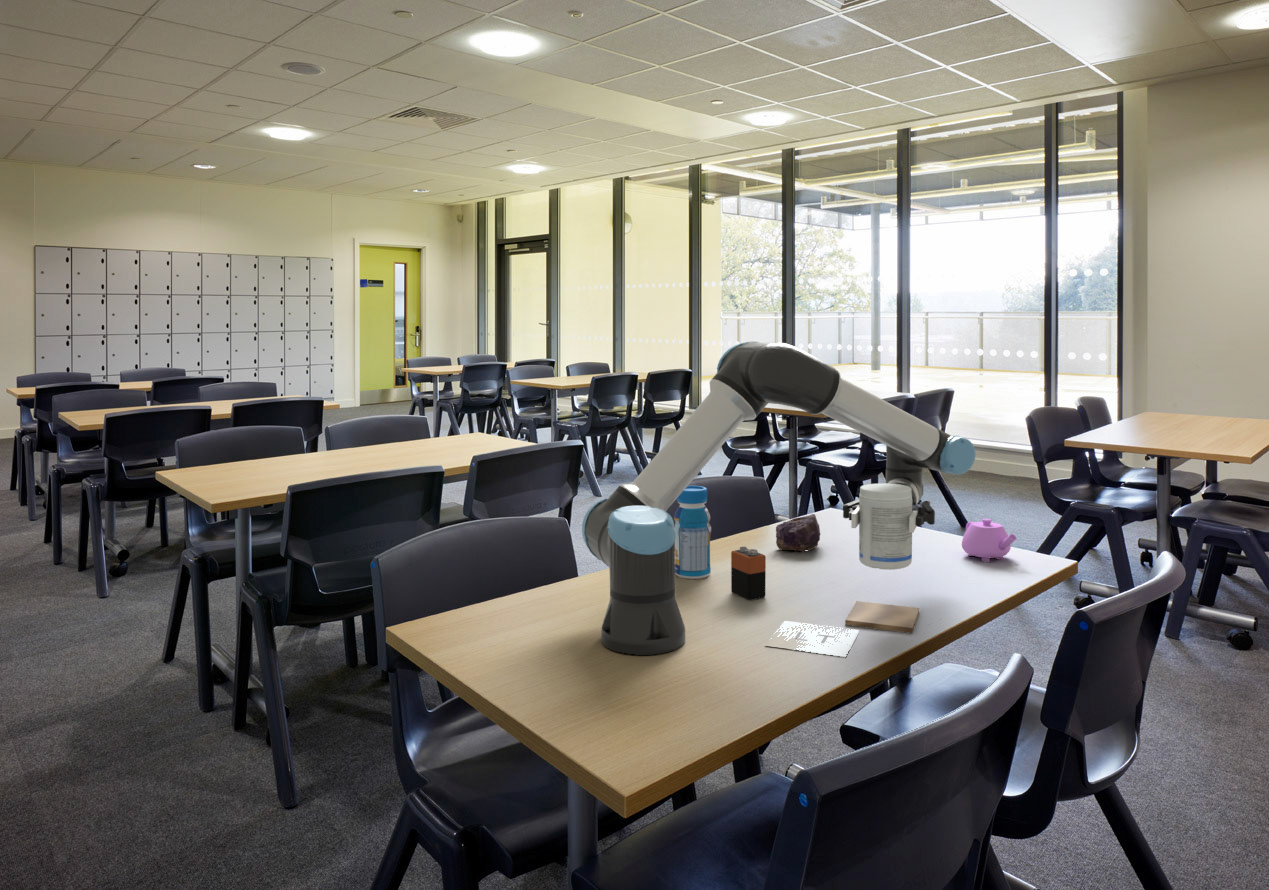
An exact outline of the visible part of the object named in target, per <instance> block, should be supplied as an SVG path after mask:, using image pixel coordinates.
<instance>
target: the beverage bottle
mask: <svg viewBox="0 0 1269 890" xmlns="http://www.w3.org/2000/svg"><path fill="white" fill-rule="evenodd" d="M707 489H708V488H707V487H704V486H703V485H702V486H700V485H688V486H687V487H686V488H685V489H684V491H683V492H682V493H681V494H680V495H679V496H678V498H677V499H676V500H677V503H678V504H679V506H678V507H677V509H676V510H675V512H674V516H673V521H675V522H674V530H675V534H676V537H675V576H677V577H679V578H682V579H686V580H699V579H700V580H701V579H705V578H708V577H709V576H710V575H711V573H712V572H711V570H712V568H711V567H712V566H711V533H712V526H711V524H710V521H711V514H710V511H709V510H708V508H707V507H706V505H705V504H707V501H708V490H707Z"/></svg>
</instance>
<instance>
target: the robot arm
mask: <svg viewBox="0 0 1269 890" xmlns="http://www.w3.org/2000/svg"><path fill="white" fill-rule="evenodd" d="M716 370H717V371H716V373H715V375H714V376H713V377H712V378H711V380H710V381H709V393H708V395H707V396H706V397H705V398H704V399H703V400H702V401H701V402H700V404H699V405H698V406H697V407H696V409H695V410H693V412H692V413H691V414H690V415H689V416H688V418H687V419H686V420H685V421H684V422H683V424H682V425H681V426H680V427H679V428H678V429H677V430H676V431H675V433H674V434H673V435H672V436H671V438H669V440H668V441H667V442H666V443H665V445H663V447H662V448H661V449H660V450H659V451H658V452H657V453H656V455H655V456H654V457H653V458H652V459H651V461H649V463H648V464H647V465H646V466H645V468H644V469H643V470H642V471H641V472H639V474H638V476H636V478H635V479H634V480H633V481H632V482H630V483H622V484H620V485H619V486H617V488H616V489H615V490H614V491H613V493H611V495H610V496H609V497H608V498H604V499H601V500H598V501H597V502H595V503H593V504H592V506H590V507H589V509H588V510H587V511H586V512H585V515H584V517H583V520H582V524H581V533H582V534H581V535H582V539H583V542H584V543H585V546H586V548H587V549H588V551H589V553H590V554H592V556H594V557H595V558H596V559H597V560H599V561H600V562H602V563H604V564H605V565H606V566H607V567H609V568H608V569H609V602H608V605H607V608H606V610H605V611H606V612H605V613H604V619H603V622H602V625H601V629H600V641H601V644H602V646H603V647H605V646H606V647H607V648H606V647H605V648H606V649H608V648H609V649H608V650H610V649H612V650H614V651H613V652H615V651H617V652H616V653H619V652H622V653H621V654H624V653H628V654H627V655H631V654H635V655H634V656H651V655H658V654H659V655H660V654H664V653H669V652H672V651H674V650H677V649H680V647H682V646H683V645H684V644H685V643H686V626H685V623H684V620H683V617H682V615H681V611H680V608H679V605H678V602H677V599H676V574H675V537H676V534H675V530H674V526H675V522H674V518H673V517H672V516H671V514H670V513H668V510H669V508H670V507H671V506H672V505H673V503H675V501H676V500H677V498H678V496H679V495H680V494H681V493H682V492H683V491H684V489H685V488H686V487H687V486H690V484H691V483H692V481H693V480H694V479H695V478H696V476H698V475H699V473H700V472H701V470H702V469H703V468H704V467H705V466H707V464H708V462H710V460H711V459H712V458H713V456H715V454H716V453H717V452H718V451H719V450H720V449H721V448H722V446H723V445H725V443H726V441H727V440H729V438H730V437H731V436H732V435H733V433H734V432H735V431H736V430H737V429H738V428H739V426H740V425H741V424H742V423H744V421H753V420H755V419H756V418H757V417H758V415H760V414H761V412H762V411H763V410H764V409H765V408H766V407H767V405H768V404H772V405H773V404H774V405H782V406H786V407H791V408H796V409H799V410H801V411H804V412H806V413H808V414H810V415H814V416H816V415H820V414H823V415H824V416H826V417H829V418H830V419H832V420H834V421H837V422H839V423H840V424H842V425H845V426H846V427H849V428H851V429H853V430H855V431H857V432H859V433H861V434H863V435H865V436H867V437H868V438H871V439H873V440H875V441H876V442H878V443H881V444H883V445H885V447H886V449H885V450H886V459H885V460H886V464H885V465H886V467H885V483H886V484H900V485H905V486H909V487H910V488H911V491H912V514H911V516H910V517H909V532H911V533H912V534H913V533H914V532H915V530H916V528H917V526H923V525H925V523H927V524H928V525H932V526H933V525H935V520H936V515H935V514H936V511H935V509H934V508H933V507H932V506H931V501H929V500H923V502H922V501H921V500H922V497H923V496H924V483H923V469H928V470H933V471H937V472H940V473H945V475H963V474H965V473H967V472H969V471H970V470H971V468H972V467H973V465H974V463H975V459H976V449H975V446H974V444H973V442H971V440H969V439H968V438H965V437H961V436H960V435H953V434H949V433H947V432H945V431H944V430H941V429H939V428H938V427H936V426H933V425H932V424H930V423H928V422H926V421H924V420H922V419H920V418H918V417H917V416H915V415H913V414H911V413H909V412H907V411H905V410H903V409H901V408H899V407H897V406H896V405H893V404H892V403H889V402H888V401H887V400H884V399H882V398H880V397H879V396H876V395H875V394H872V393H871V392H869V391H868V390H865V389H863V388H861V387H859V386H857V385H856V384H854V383H852V382H850V381H848V380H846V379H844V378H843V377H841V373H840V371H839V370H838V369H837V368H835V367H834V366H832V365H829V364H828V363H826V362H824V361H822V360H821V359H819V358H817V357H816V356H814V355H812V354H810V353H808V352H806V351H804V350H803V349H800V348H799V347H797V346H794V345H791V344H789V343H786V342H759V341H745V342H744V341H743V342H742V343H738V344H735V345H733V346H731V347H730V348H729V349H727V350H726V351H725V352H724V353H723V354H722V355H721V357H720V359H719V360H718V363H717V367H716ZM842 507H843V509H842V511H843V512H842V518H843V519H848V521H850V523H851V526H850V528H851V529H856V528H857V527H859V498H858V499H855V500H853V501H850V502H848V503H845V504H843V505H842ZM612 650H611V651H612Z"/></svg>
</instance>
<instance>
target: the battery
mask: <svg viewBox="0 0 1269 890" xmlns="http://www.w3.org/2000/svg"><path fill="white" fill-rule="evenodd" d="M730 556H731V557H730V559H731V560H730V561H731V563H730V565H731V566H730V567H731V568H730V569H731V572H730V574H731V577H730V581H731V582H730V583H731V585H730V588H731V591H730V592H731V593H732V594H734V595H736V594H737V595H736V596H739V597H741V598H744V599H746V600H747V601H753V600H757V599H758V600H759V599H763V598H765V597H766V576H767V575H766V574H767V573H766V568H767V565H766V560H767V559H766V554H763V553H760V552H759V551H758V549H755V548H748V547H747V546H739V549H735V550H732V551H731V555H730Z"/></svg>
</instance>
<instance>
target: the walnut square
mask: <svg viewBox="0 0 1269 890" xmlns="http://www.w3.org/2000/svg"><path fill="white" fill-rule="evenodd" d="M919 615H920V607H915V606H906V605H905V606H904V605H895V604H887V603H879V602H878V603H877V602H869V601H861V600H856V601H855V603H854V604H853V606H852V607H851V610H850V611H849V613H848V614H847V616H846V618H845V621H844V623H845V626H849V625H853V626H852V627H857V626H860V627H859V628H865V627H867V628H866V629H873V628H876V629H875V630H881V629H883V630H882V631H891V632H898V631H900V632H899V633H906V632H909V633H908V634H914V629H915V626H916V624H917V621H918V618H919Z"/></svg>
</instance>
